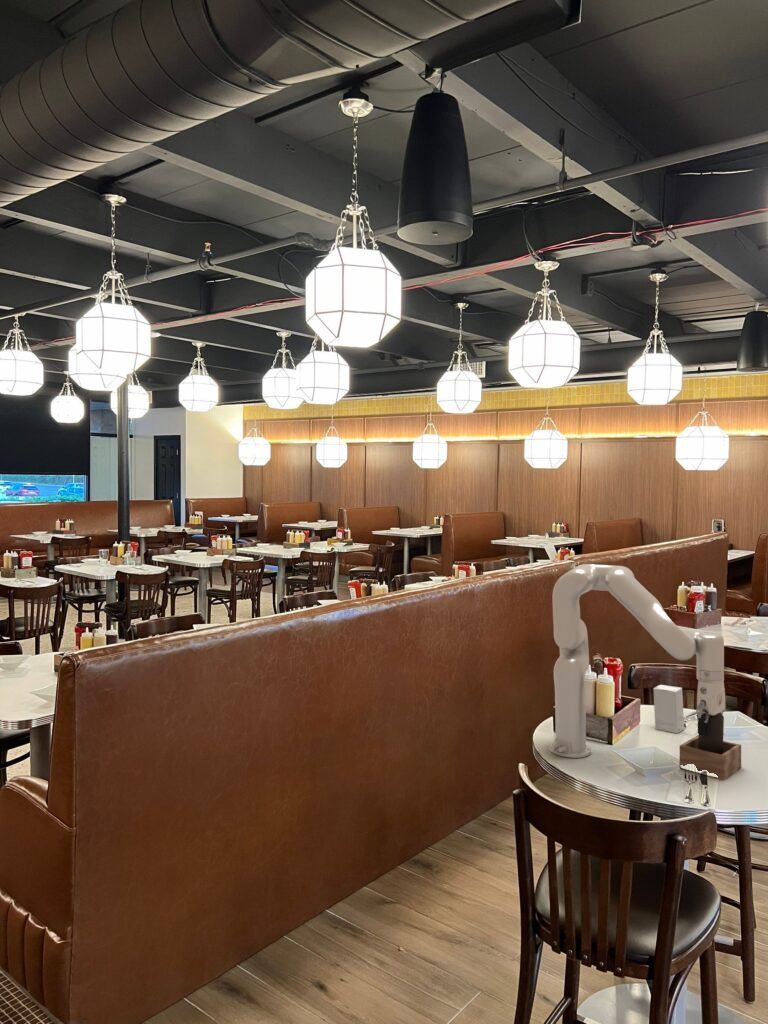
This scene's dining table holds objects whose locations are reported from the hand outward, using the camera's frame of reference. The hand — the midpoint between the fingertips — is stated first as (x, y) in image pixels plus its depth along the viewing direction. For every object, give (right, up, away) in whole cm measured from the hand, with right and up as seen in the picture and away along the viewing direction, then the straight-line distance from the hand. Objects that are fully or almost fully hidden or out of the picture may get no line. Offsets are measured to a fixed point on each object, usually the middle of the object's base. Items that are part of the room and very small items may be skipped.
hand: (710, 731), depth 224 cm
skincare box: (+1, -10, +36) cm, 38 cm away
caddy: (0, -11, 0) cm, 11 cm away
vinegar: (0, -10, +1) cm, 10 cm away
